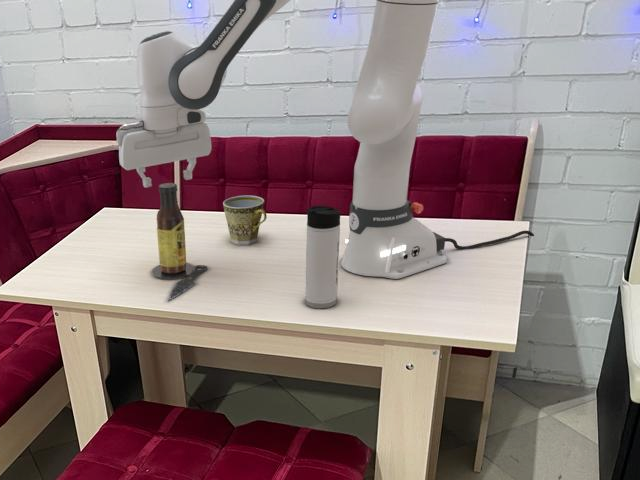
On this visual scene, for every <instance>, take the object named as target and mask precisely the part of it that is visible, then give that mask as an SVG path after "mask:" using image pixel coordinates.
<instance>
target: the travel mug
mask: <svg viewBox="0 0 640 480" xmlns="http://www.w3.org/2000/svg"><path fill="white" fill-rule="evenodd" d="M305 211H306V213H305V214H307V216H306V217H307V220H306V242H305V244H306V245H305V247H306V248H305V249H306V250H305V281H304V282H305V287H304V294H305V295H304V303H305V304H306V305H307V307H310V308H314V309H328V308H331V307H334V306H335V305H336V304H337V300H338V296H337V295H338V279H339V277H338V276H339V262H340V261H339V259H340V258H339V257H340V237H341V210H340V209H336V208H334V207H333V206H327V205H315V206H313V205H312V206H308V207H307V209H306V210H305Z"/></svg>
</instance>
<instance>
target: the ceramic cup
mask: <svg viewBox="0 0 640 480" xmlns="http://www.w3.org/2000/svg"><path fill="white" fill-rule="evenodd" d="M222 206H223V211H224V215H225V216H224V217H225V219H226V224H227V228H228V233H229V239H230V242H231V243H232V244H235V245H238V246H248V245H252V244H255V243H257V242H258V237H259V230H260V226H261V224H263V223H264V222H265V221H266V220H267V212H266V210H265V209H264V207H265V199H264V198H263V197H260V196H256V195H237V196H232V197H229V198H227V199H225V200H224V201H223V202H222ZM262 216H263V220H261V219H262Z"/></svg>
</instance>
